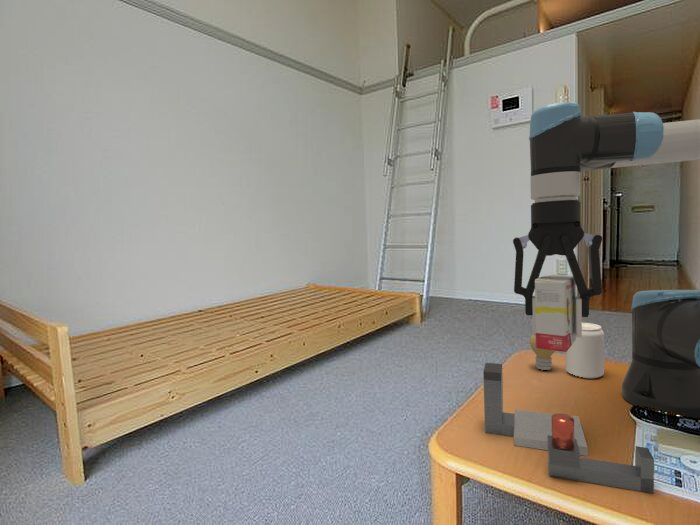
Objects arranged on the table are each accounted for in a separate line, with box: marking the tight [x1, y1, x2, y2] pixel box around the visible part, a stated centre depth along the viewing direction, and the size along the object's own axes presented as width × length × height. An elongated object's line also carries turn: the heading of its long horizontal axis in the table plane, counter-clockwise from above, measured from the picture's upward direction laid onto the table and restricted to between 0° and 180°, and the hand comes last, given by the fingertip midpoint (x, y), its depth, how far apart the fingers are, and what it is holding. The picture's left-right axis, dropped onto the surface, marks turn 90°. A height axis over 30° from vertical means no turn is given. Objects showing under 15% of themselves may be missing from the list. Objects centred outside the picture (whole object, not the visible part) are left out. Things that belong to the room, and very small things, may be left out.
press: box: [483, 362, 588, 457], centre depth 74 cm, size 16×11×12 cm
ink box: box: [534, 274, 577, 353], centre depth 71 cm, size 9×5×12 cm, turn 140°
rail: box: [547, 445, 655, 494], centre depth 60 cm, size 13×3×5 cm, turn 67°
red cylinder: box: [547, 413, 581, 469], centre depth 62 cm, size 4×4×6 cm
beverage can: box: [565, 322, 605, 379], centre depth 100 cm, size 8×8×12 cm
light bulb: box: [529, 334, 556, 371], centre depth 104 cm, size 6×6×10 cm
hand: (556, 334), depth 71 cm, fingers closed on ink box, 6 cm apart
